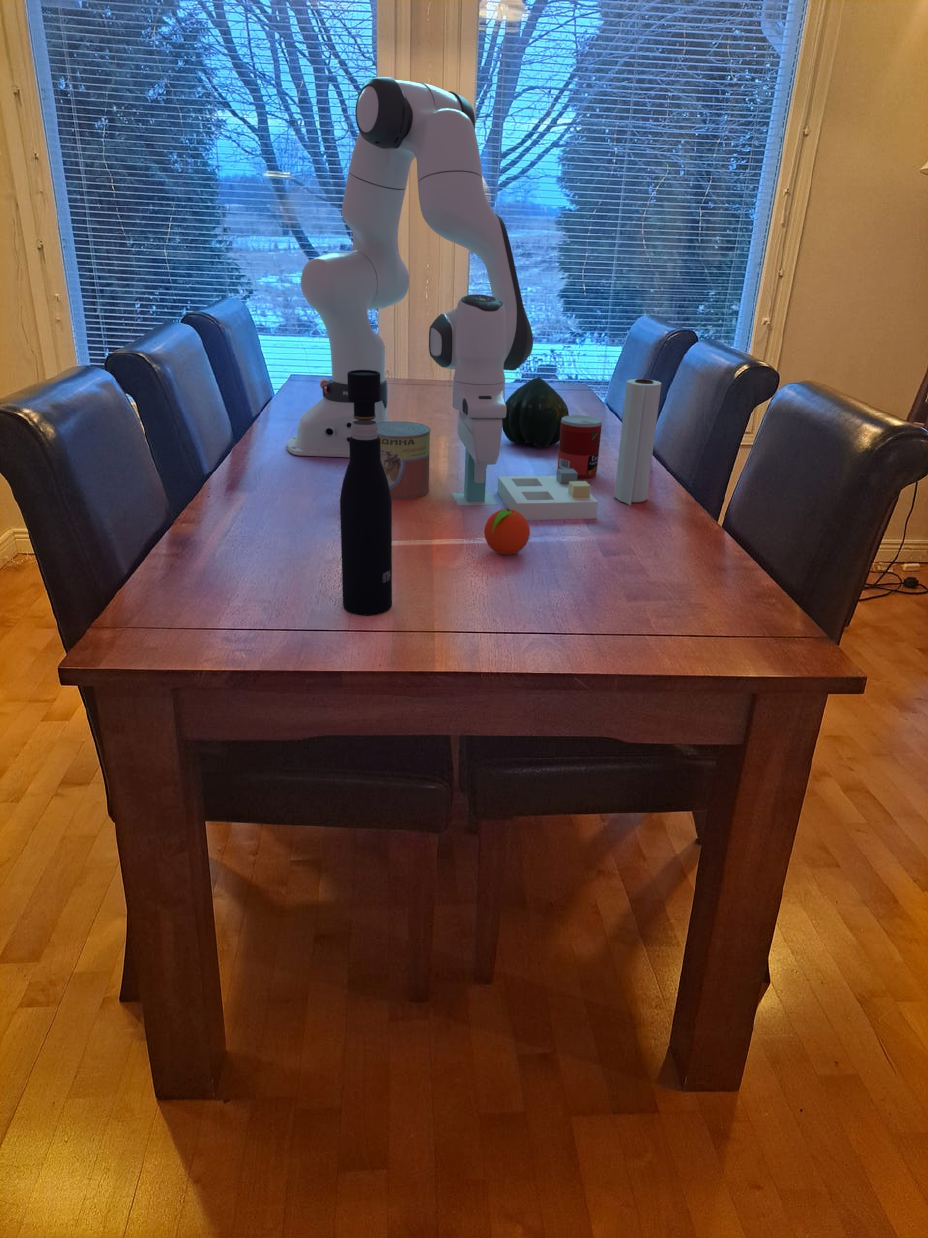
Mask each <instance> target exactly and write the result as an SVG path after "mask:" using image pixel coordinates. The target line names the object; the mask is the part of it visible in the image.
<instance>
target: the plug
mask: <svg viewBox="0 0 928 1238" xmlns="http://www.w3.org/2000/svg"><path fill="white" fill-rule="evenodd" d="M464 459H465V461H464V462H465V463H464V485H463V486H464V491H463V493H464V497H465V499H466V501H467V502H485V493H486V483H487V482H486V481H487V480H486V479H487V471H486V472H485V481H484V482H483V483H476V482H475V481H474V479H473V471H474V467H475V463H474V459H473V458H472V456H471V455H470V453H469V452H468V450H467V449H466V451H465V458H464Z"/></svg>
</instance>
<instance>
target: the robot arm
mask: <svg viewBox="0 0 928 1238" xmlns="http://www.w3.org/2000/svg"><path fill="white" fill-rule="evenodd" d="M355 103H356V104H355V111H354V112H355V123H356V125H357V129H358V131H359V132H358V135H357V138H356V140H355V143H354V147H353V151H352V154H351V158H350V162H349V163H350V164H349V167H348V173H347V178H346V183H345V190H344V193H343V194H344V195H343V200H342V207H341V216H342V219H343V221H344V223H345V224H346V226H347V227H349V229H350V230H351V231H352V249H351V251H350V252H328V253H325V254H321V255H319V256H317V257H314V258H311V259H310V260H308V261H307V263H305V265H304V267H303V268H302V272H301V277H300V287H301V291H302V294H303V297H304V298H305V300H306V302H307V303H308V304H309V306H311V307H312V308H313V310H314V311H316V312H317V313H318V315H319V317H320V318H321V320H322V322H323V325H324V327H325V330H326V333H327V336H328V342H329V347H330V348H329V349H330V360H331V361H330V362H331V363H330V364H331V379H329V380H328V379H327V378H322V379H321V380H320V382H319V387H320V388H321V389H322V397H323V398H322V399H320V400H319V401H318V402H317V403H315V404H314V405H313V406H312V407H310V408H308V410H306V411H305V412H304V413H303V414H302V416H301V417H300V419H299V422H298V425H297V431H296V435H295V436H292V437H290V438H289V439H288V441H287V443H286V444H287V446H286V447H287V451H288V452H289V453H290V454H292V455H295V456H307V457H310V456H311V457H331V458H333V457H335V458H350V449H349V438H350V437H351V436H352V434H351V431H352V428H351V425H352V422H353V421H355V420H357V419H355V418H354V417H353V415H354V402H350V401H348V382H347V373H348V372H349V371H353V370H373V371H377V372H379V373H380V385H381V396H380V397H381V400H380V401H379V402H376V403H375V415H376V417H375V418H374V419H372V420H373V421H376V422H377V423H381V422H388V415H387V408H388V404H389V400H388V399H389V390H388V389H389V388H388V382H387V380H386V356H385V355H386V353H385V352H386V349H385V348H386V347H385V343H384V340H383V339H382V338H381V336H380V335H378V333H375V332H374V330H373V328H372V326H371V323H370V320H369V314H368V311H369V310H370V311H371V310H378V309H385V308H388V307H390V306H393V305H395V304H398V303H399V302H401V301H402V300H403V299H404V298H405V297H406V295H407V293H408V292H409V287H410V275H409V270H408V268H407V266H406V264H405V262H404V261H403V260H402V257H401V255H400V249H399V226H400V220H401V215H402V209H403V205H404V204H403V203H404V200H405V195H406V191H407V189H406V188H407V185H408V181H409V174H410V169H411V165H412V163H413V160H414V159H415V160H416V174H417V175H416V177H417V178H416V179H417V190H418V191H417V192H418V201H419V206H420V207H419V208H420V211H421V215H422V217H423V219H424V222H425V223H426V224H427V225H428V226H429V228H431V230H432V231H433V232H434V233H436V234H437V235H438V236H440V237H441V238H443V239H445V240H447V241H449V242H452V243H454V244H456V245H459V246H461V247H463V248H466V249H467V250H469V251H470V252H472V253H473V254H474V255H475V256H477V257H478V259H480V261H482V263H483V264H484V266H485V269H486V273H487V278H488V281H489V286H490V291H491V296H490V295H486V294H467V295H465V296H463V297H461V298H460V299H459V300H458V302H457V306H456V307H455V308H454V309H452V310H451V311H448V312H444V313H441V314H438V316H437V317H436V318H435V319H434V320H433V322H432V323H431V325H430V326H429V329H428V331H429V333H428V351H429V352H428V353H429V356H430V357H431V358H432V360H433V361H434V362H435V363H436V365H438V366H439V367H441V368H443V369H449V370H454V374H453V377H452V402H451V403H452V407H453V408H454V409H455V410H458V417H457V418H458V419H457V435H458V438H459V440H460V442H461V443H462V444H463V446H464V447H465V452H466V449H467V450H468V452H469V453H470V455H471V456H472V458H473V459H474V463H475V467H474V471H473V479H474V481H475V482H476V483H483V482H484V481H485V472H486V473H487V468H488V465H489V466H492V465H496V464H497V463H498V460H499V457H500V450H501V444H502V443H501V442H502V434H503V433H502V432H503V428H502V419H501V418H505V417H506V400H505V398H506V397H505V396H506V393H505V392H506V375H505V371H516V370H517V369H518V368H521V366H522V365H523V364H525V362H527V360H528V358H529V357H530V355H531V354H532V351H533V347H534V336H533V330H532V327H531V322H530V320H529V317H528V315H527V312H526V310H525V305H524V301H523V296H522V293H521V288H520V284H519V283H520V282H519V279H518V274H517V268H516V265H515V261H514V256H513V255H514V254H513V250H512V247H511V242H510V239H509V235H508V234H509V233H508V231H507V227H506V224H505V222H504V220H503V218H502V217H501V216H500V215H498V214H497V213H496V212H495V211H494V210H493V208H492V206H491V205H490V201H489V200H488V199H487V195H486V193H485V189H484V183H483V173H482V172H483V171H482V170H483V169H482V162H481V161H482V160H481V155H480V149H479V142H478V138H477V135H476V118H475V111H474V110H473V109H474V108H473V106H472V104H471V103H470V101H468V100H467V99H466V98H465V97H463V96H462V95H460V94H458V93H456V92H454V91H451V90H450V91H449V90H448V91H447V90H445V89H442V88H440V87H437V86H435V85H432V84H428V83H424V82H415V81H409V80H408V81H406V80H399V79H394V78H393V77H390V76H389V77H386V76H383V77H381V76H380V77H374V78H370V79H369V80H367V81H366V82H365V84H364V85H363V86H362V87H361V89H360V91H359V93H358V95H357V98H356V102H355Z"/></svg>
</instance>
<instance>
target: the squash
mask: <svg viewBox="0 0 928 1238" xmlns="http://www.w3.org/2000/svg"><path fill="white" fill-rule="evenodd" d="M505 403H506V417H505V418H501V419H502V432H503V433H504V435H505V437H506V438H507V439H508V440H509V441H510V442H511V443H514V444H517V445H522V444H525V443H529V444H532V443H533V445H534V446H535V447H536V448H538V449H544V448H545V447H547V446H548V447H549V446H553V445H556V444H557V443H559V440H560V427H561V420H562V417H565V416H570V414H569V408H568V405H567V404H566V402H565V400H564V399H563V397H562V396H561V395H560V394H559V393H558V392H557V391H556V390H555V389H554V388H553V387H552V386H550V384H549V383H548V382H546V380H544V379H543V378H541V377H540V376H538V377H534V378H532V379H530V380H528V381H527V382H526V383H524V384H522V385H521V386H520V387H518V388H517V389H515V391H513V393H512V394H511V395H510V396H509V397H508V398H507V399H506V400H505Z"/></svg>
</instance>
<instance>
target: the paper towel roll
mask: <svg viewBox="0 0 928 1238" xmlns="http://www.w3.org/2000/svg"><path fill="white" fill-rule="evenodd" d="M625 385H626V386H625V396H624V404H623V414H622V415H623V416H622V424H621V431H620V432H621V433H620V440H619V449H618V459H617V467H616V468H617V470H616V479H615V486H614V487H615V488H614V498H616V499H617V500H618V501H619V502H623V503H625V504H627V505H629V506H632V503H642V502H645V501H646V500H648V495H649V494H648V493H649V485H650V479H651V478H650V476H651V469H652V468H651V467H652V463H653V455H654V453H653V452H654V447H655V446H654V444H655V437H656V429H657V423H658V414H659V405H660V396H661V391H662V390H661V389H662V382H661V381H659V380H654V379H644V378H634V379H627V380H626V384H625Z"/></svg>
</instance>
